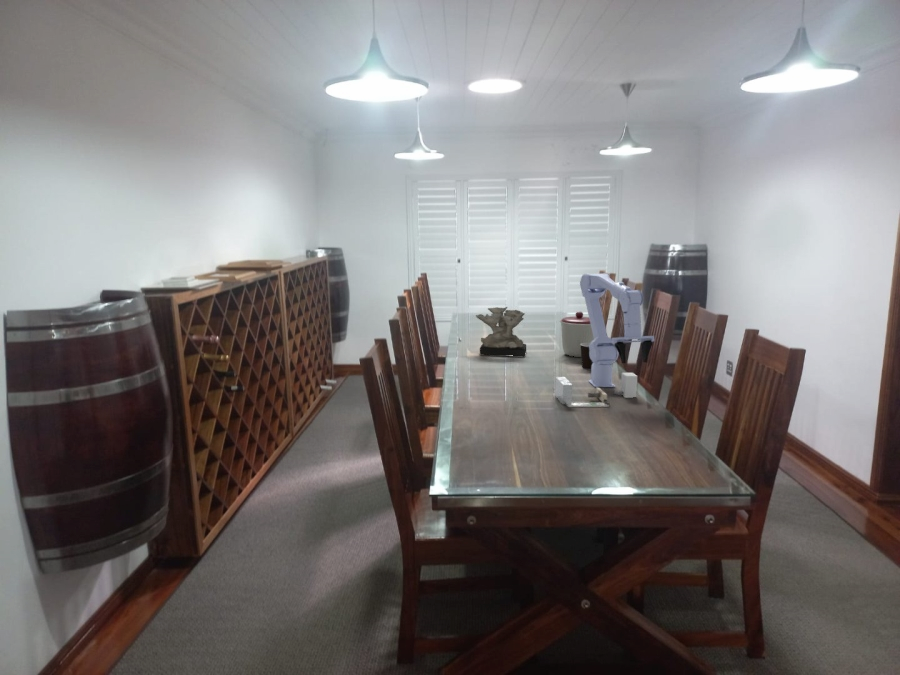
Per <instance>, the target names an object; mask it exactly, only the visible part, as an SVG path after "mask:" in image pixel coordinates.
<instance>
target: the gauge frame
mask: <svg viewBox="0 0 900 675" xmlns="http://www.w3.org/2000/svg"><path fill="white" fill-rule="evenodd" d="M554 387H555V388H554V390H555V392H554V396H555V398H556V399H557V398H558V399H557V400H558V401H559V402H560V403H562V404H565V405H566V407H568V408H609V407H610V404H607V403H606V402H605V403H603V402H591V401H590V402H573V384H572V383H571V382H570V381H569V379H567V377H565V376H556V377H555V386H554ZM562 404H561V405H562Z"/></svg>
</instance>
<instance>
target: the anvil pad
mask: <svg viewBox="0 0 900 675" xmlns="http://www.w3.org/2000/svg"><path fill="white" fill-rule="evenodd" d="M587 397H588V398H597V399H598V400H599V401H600V402H601V403H605V402H606V403H607V404H609V405H611V403H610V401H608V394H607V393H606V392H605V391H604V390H602V389H601V387H595V392H588V393H587Z"/></svg>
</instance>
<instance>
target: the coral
mask: <svg viewBox="0 0 900 675" xmlns="http://www.w3.org/2000/svg"><path fill="white" fill-rule="evenodd" d="M487 310H488V311H489V312H491V315H489V314H488V313H486V315H484V314H482V313H481V314H480V313H479V314H476V315H475V317H476V318H477V319H478V320H479V321H481V322H483V323H484V324H486V325H487V326H488V327H490V328H491V331H492V333H489V334H488V335H486V337H481V338H480V342H481V343H482V344H481V346H480V347H479V355H480V354H484V355H483V356H490V355H513V356H525V357H526V354H527V344H526V343H524V340H522V339H520V338H519V337H518V336H517V335H516V334H514V329H515V327H517V326H518V325H519V324H521V322H523V320H525V319H524V315H526V313H525V312H523V311H520V310H519V309H514V310H513V309H512V310H511V309H508V306H505V307H490V308H487ZM497 325H498V326H497ZM525 353H526V354H525Z"/></svg>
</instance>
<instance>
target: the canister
mask: <svg viewBox="0 0 900 675" xmlns="http://www.w3.org/2000/svg"><path fill="white" fill-rule="evenodd" d="M559 322H560V329H561V330H560V331H561V339H562V340H561V341H562V342H561V343H562V351H563V353H564V354H565V355H566V356H568V355H569V356H568V357H573V356H574V357H576V358H581V346H580V344H582V343H591V342H592V341H593V340H594V337H593V332H592V328H591V323H590V319H589V316H588V317H587V316H584V312H582V311H576V312H575V316H566V317H563V318H561V319H560V320H559Z"/></svg>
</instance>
